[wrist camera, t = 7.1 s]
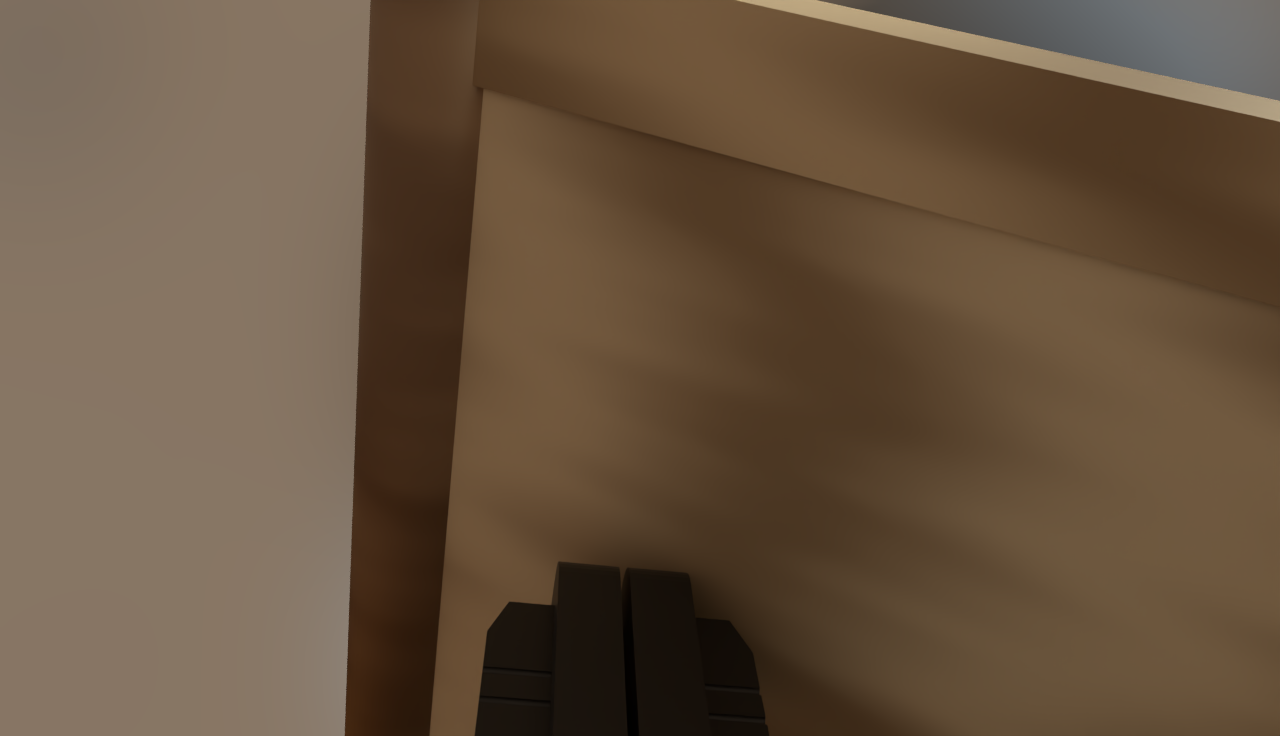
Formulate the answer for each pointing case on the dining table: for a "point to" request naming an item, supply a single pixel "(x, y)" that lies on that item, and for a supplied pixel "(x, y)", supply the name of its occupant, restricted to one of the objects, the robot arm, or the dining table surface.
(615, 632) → the robot arm
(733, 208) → the swing panel
